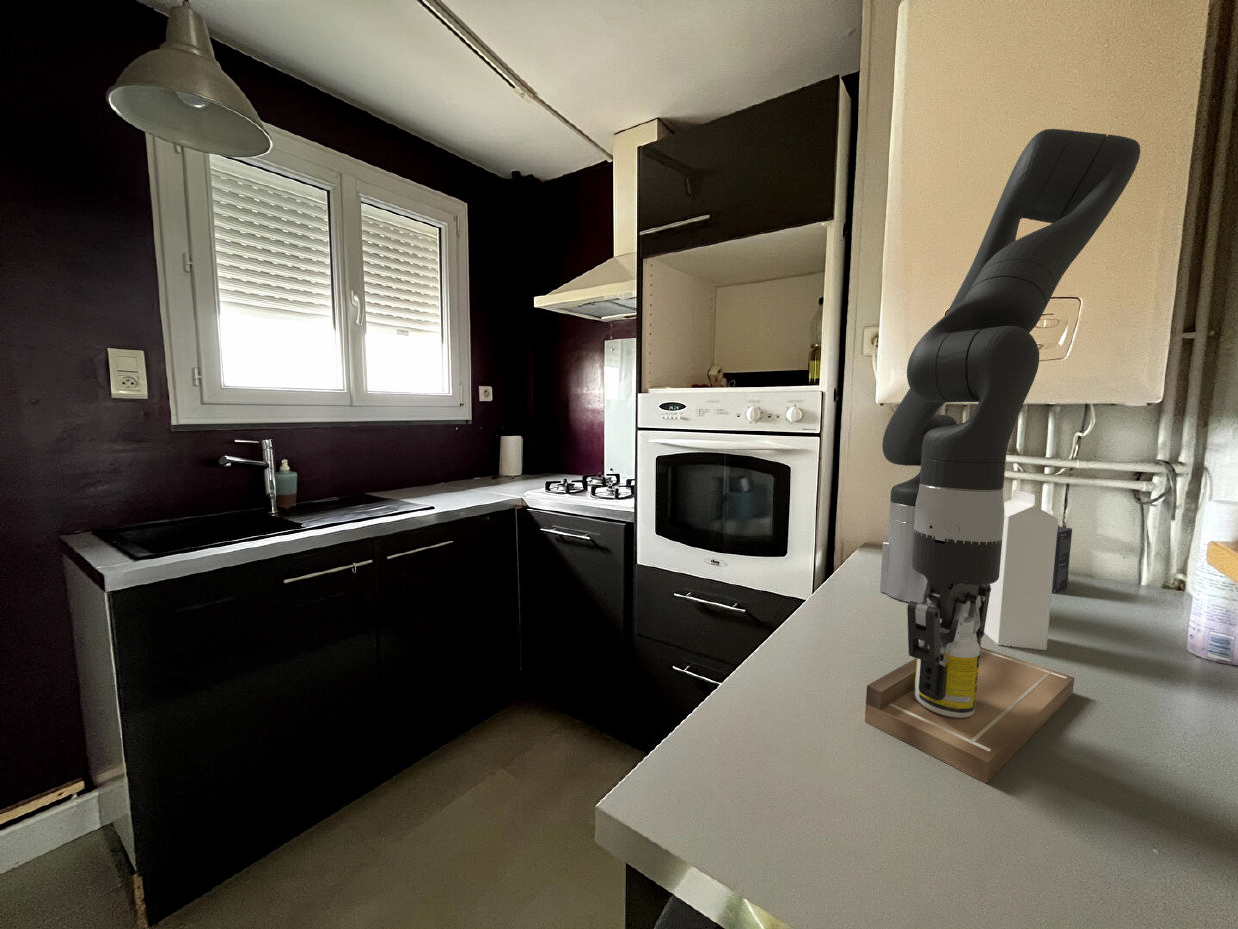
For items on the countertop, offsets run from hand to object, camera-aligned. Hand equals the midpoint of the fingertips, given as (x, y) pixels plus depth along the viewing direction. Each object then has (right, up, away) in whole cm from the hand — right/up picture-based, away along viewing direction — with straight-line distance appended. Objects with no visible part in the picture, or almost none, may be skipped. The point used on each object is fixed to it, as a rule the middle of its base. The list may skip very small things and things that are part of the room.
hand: (944, 686), depth 52 cm
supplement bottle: (0, -2, 0) cm, 2 cm away
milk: (+24, -3, +21) cm, 32 cm away
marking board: (+6, -4, +3) cm, 8 cm away
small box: (+47, -1, +49) cm, 68 cm away
